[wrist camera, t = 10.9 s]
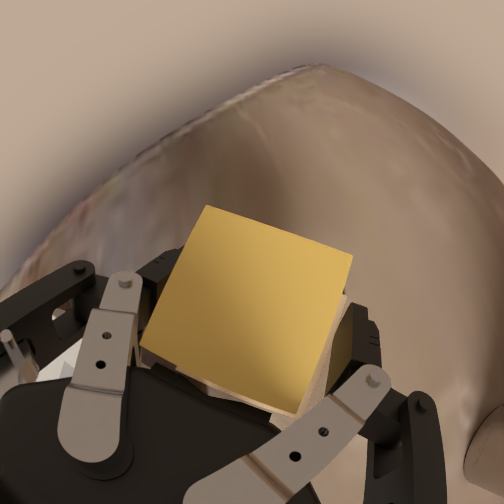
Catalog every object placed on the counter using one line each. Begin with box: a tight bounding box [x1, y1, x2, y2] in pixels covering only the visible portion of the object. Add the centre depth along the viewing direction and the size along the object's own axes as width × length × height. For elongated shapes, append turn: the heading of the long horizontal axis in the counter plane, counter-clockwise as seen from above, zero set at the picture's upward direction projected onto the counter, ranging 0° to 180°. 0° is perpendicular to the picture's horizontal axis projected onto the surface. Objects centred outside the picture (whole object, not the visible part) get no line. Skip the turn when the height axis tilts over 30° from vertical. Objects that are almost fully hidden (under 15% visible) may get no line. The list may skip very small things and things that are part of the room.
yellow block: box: [139, 205, 353, 415], centre depth 13 cm, size 4×4×14 cm
